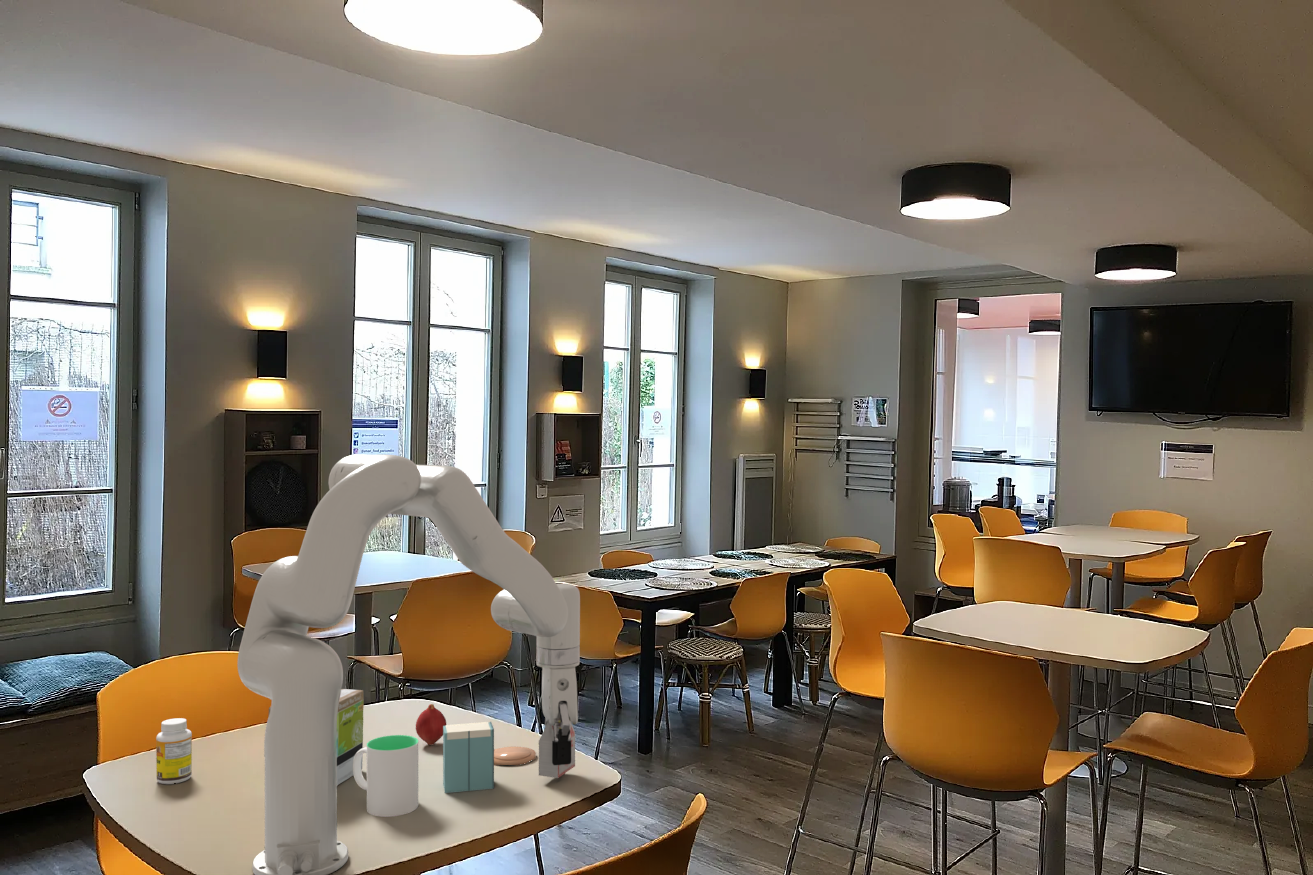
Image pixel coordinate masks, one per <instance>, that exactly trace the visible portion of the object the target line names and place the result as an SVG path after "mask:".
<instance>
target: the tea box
mask: <svg viewBox="0 0 1313 875" xmlns="http://www.w3.org/2000/svg"><path fill="white" fill-rule="evenodd" d="M364 697H365V696H364V690H363V689H362V690H361V689H349V688H348V689H347V688H342V689H341V694H340V699H339V705H338V714H337V786H338V785H340V784H342V783H343V782H346V781H347V780H348V779H350V778H351V777H354V775H353V760H354V756H355V754H356V753H357V752H358V751H359V750H360V749H362V748H364V745H363V744H364ZM270 710H271V706H270V707H269V708H268V715H267V716H268V718H269V714H270ZM268 718H267V719H268ZM363 762H364V761H363V755H362V758H361V771H362V770H363Z"/></svg>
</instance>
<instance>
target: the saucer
mask: <svg viewBox="0 0 1313 875" xmlns="http://www.w3.org/2000/svg"><path fill="white" fill-rule="evenodd" d="M535 757H536V758H537V752H536V751H535V750H534V749H532V748H530V747H525V746H504V747H498V748H494V766H499V765H516V766H521V765H520V764H523V765H525V764H524V763H527V762H529V761H531V760H533V761H534V760H536V758H535ZM529 763H530V762H529ZM527 764H528V763H527Z"/></svg>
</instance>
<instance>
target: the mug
mask: <svg viewBox="0 0 1313 875" xmlns="http://www.w3.org/2000/svg"><path fill="white" fill-rule="evenodd" d="M363 754H366V779H365V778H364V776H363V772H362V770H361V758H362V755H363ZM353 777H354V778H353V779H354V780H355V781H354V782H356V784H357V785H358V787H360V788H361V789H362V790H364V791H366V811H367V813H368V814H370V815H372V816H376V817H386V818H387V817H397V816H403V815H406V814H409V813H412V812H414V811H415V810H417V809H418V807H419V738H417V737H416V736H412V735H407V734H405V735H404V734H402V735H401V734H394V735H393V734H392V735H384V736H379V737H377V738H372V739H371V740H368V742H367V743H366V746H365V747H364V746H363V748H362V749H360V750H359V751H358V752H357V753H356V754H355V756H354V760H353Z"/></svg>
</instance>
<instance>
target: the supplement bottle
mask: <svg viewBox="0 0 1313 875" xmlns="http://www.w3.org/2000/svg"><path fill="white" fill-rule="evenodd" d="M160 727H161V728H160V729H161V732H158V734H157V735H156V737H155V739H156V741H155V745H156V746H155V747H156V749H155V750H156V756H155V757H156V758H155V759H156V762H155V763H156V764H155V765H156V766H155V767H156V781H157V782H158V783H159V784H161V785H162V784H163V785H174V783H176V784H180V783H183V782H186V781H188V780H189V779H191V777H192V774H193V768H192V767H193V762H192V761H193V755H192V754H193V752H192V751H193V750H192V749H193V747H192V746H193V744H192V743H193V740H192V739H193V738H192V736H193V735H192V734H193V733H192V731H191V730H190V729H188V725H187V719H186V718H184V717H183V718H182V717H181V718H180V717H179V718H169V719H166V720H163V721H162V722H161V726H160Z"/></svg>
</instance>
